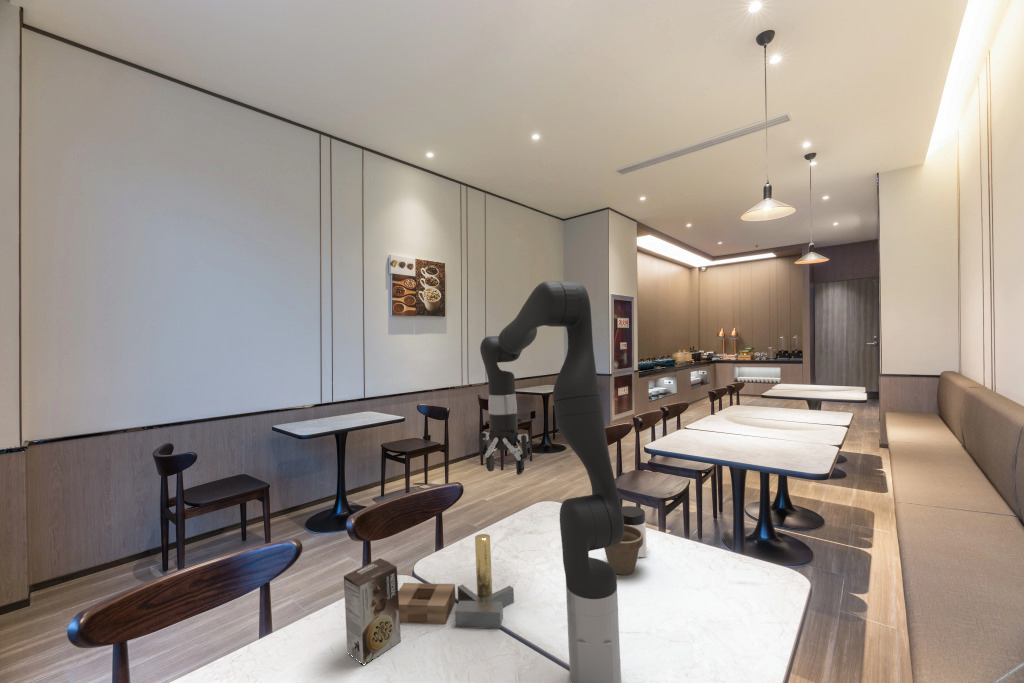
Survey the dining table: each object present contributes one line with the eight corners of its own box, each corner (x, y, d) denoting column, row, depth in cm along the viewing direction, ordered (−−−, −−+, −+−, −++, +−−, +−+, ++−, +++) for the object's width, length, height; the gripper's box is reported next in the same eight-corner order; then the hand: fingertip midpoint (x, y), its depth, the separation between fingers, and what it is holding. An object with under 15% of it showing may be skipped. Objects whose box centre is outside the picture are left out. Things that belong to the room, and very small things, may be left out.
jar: (619, 543, 134) (617, 504, 135) (647, 547, 132) (645, 506, 132) (615, 557, 126) (614, 515, 126) (645, 561, 123) (643, 518, 123)
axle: (491, 608, 104) (488, 540, 104) (476, 608, 104) (473, 540, 105) (493, 600, 108) (491, 534, 108) (479, 599, 108) (476, 533, 108)
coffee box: (383, 630, 98) (380, 557, 98) (401, 641, 94) (398, 565, 94) (345, 653, 91) (342, 574, 91) (363, 667, 87) (359, 584, 87)
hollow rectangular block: (445, 623, 99) (445, 605, 99) (390, 621, 101) (389, 604, 101) (455, 600, 108) (455, 584, 108) (404, 599, 110) (403, 582, 110)
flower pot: (654, 574, 116) (652, 536, 116) (617, 585, 112) (615, 545, 112) (627, 555, 127) (625, 520, 127) (593, 564, 123) (591, 528, 123)
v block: (508, 628, 96) (508, 612, 96) (447, 626, 98) (446, 610, 98) (514, 600, 107) (513, 585, 107) (459, 598, 109) (458, 584, 109)
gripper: (472, 412, 117) (474, 473, 117) (520, 414, 111) (523, 479, 111) (486, 408, 124) (489, 466, 124) (533, 409, 117) (535, 471, 117)
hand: (505, 472), depth 117 cm, fingers open, 8 cm apart
